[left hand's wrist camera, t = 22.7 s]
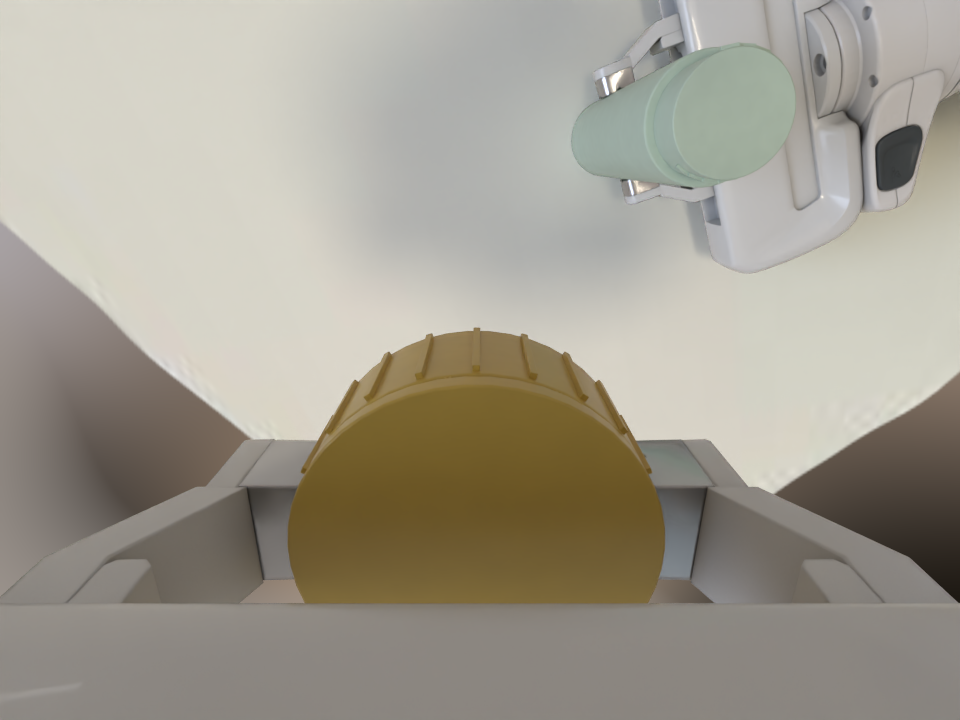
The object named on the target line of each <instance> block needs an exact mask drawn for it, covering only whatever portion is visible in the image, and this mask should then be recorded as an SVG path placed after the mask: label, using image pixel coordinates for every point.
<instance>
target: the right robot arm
mask: <svg viewBox="0 0 960 720" xmlns="http://www.w3.org/2000/svg"><path fill="white" fill-rule="evenodd" d="M658 2H659V6H660V11H661V16H662V19H661V20H659V21H656V22H655V23H654V24H653V25H651V26H650V27H649V28H648V29H646V30H645V31H644V32H643V33H642V35H641V36H640V37H639V38H638V40H637V41H636V42H635V43H634V44H633V46H632V47H631V48H630V49H629V51H628V52H627V53H626V54H625V55H624V57H623V58H622V59H621V60H619V61H617V62H614V63H612V64H609V65H606V66H604V67H602V68H600V69H598V70H596V71H595V72H593V77H594V81H595V85H596V88H597V92H598V96H599V99H602V98H604V97H607V96H609V95H611V94H613V93H614V92H616V91H618V90H620V89H622V88H624V87H626V86H628V85H630V84H632V83H634V82H635V80H634V75H633V71H632V69H633V68H634V67H635V66H636V65H637V63H638V62H639V61H640V60H641V59H642V58H643V56H644V55H645V54H646V53H647V52H648V50H649V49H650V54H651V55H656V54H658V53H661V52H664V51H666V50H669V54H670V59H671V63H672V62H674V61H676V60H678V59H680V58H682V57H684V56H686V55H688V54H690V53H692V52H694V51H697V50H701V49H704V48H711V47H721V46H724V45H729V44H733V43H737V42H740V43H755V44H756V45H758V46H761V47H764V48H766V49H769V50H771V53H773V54H774V55H775V56H776V57H778V58H779V59H780V60H781V61H783V62H782V63H783V64H784V65H785V67H786V68H787V70H788V71H789V73H790V75H791V77H792V80H793V83H794V87H795V92H796V112H795V118H794V122H793V125H792V128H791V131H790V133H789V135H788V137H787V139H786V141H785V143H784V144H783V146H782V147H781V148H780V150H779V151H778V153H777V154H776V155H775V156H774V157H773V158H772V159H771V160H770V161H769V162H768V163H767V164H765V165H764V166H763V167H761V168H760V169H758V170H757V171H755V172H753V173H751V174H749V175H746V176H744V177H741V178H738V179H736V180H730V181H726V182H723V183H721V184H718V185H714V186H710V187H703V188H694V187H686V186H681V188H680V187H674V186H669V185H663V184H659V183H653V182H645V181H637V180H629V179H621V180H620V181H621V185H622V190H623V194H624V198H625V202H626V204H630V205H632V204H636V203H640V202H643V201H645V200H648V199H651V198H654V197H656V196H661V197H667V198H672V199H677V200H683V201H688V202H693V203H695V202H698V201H700V203H701V208H702V212H703V217H704V222H705V227H706V232H707V236H708V241H709V246H710V251H711V255H712V258H713V260H714V261H715V262H717V263H719V264H721V265H723V266H724V267H726V268H728V269H731V270H734V271H737V272H740V273H748V274H750V273H756V272H759V271H762V270H766V269H769V268H771V267H774V266H777V265H779V264H782V263H785V262H787V261H790V260H792V259H794V258H797V257H799V256H801V255H804V254H806V253H808V252H810V251H812V250H814V249H817V248H819V247H821V246H823V245H825V244H827V243H829V242H831V241H832V240H834V239H836V238H837V237H839V236H840V235H842V234H843V233H844V232H845V231H846V230H848V229H849V228H850V227H851V225H852V224H853V223H854V222H855V220H856V219H857V217H858V215H859V213H860V212H881V211H887V210H891V209H894V208H897V207H899V206H901V205H903V204H904V203H906V202H907V201H908V199H909V198H910V196H911V194H912V192H913V189H914V186H915V182H916V178H917V173H918V169H919V165H920V161H921V157H922V153H923V149H924V146H925V142H926V138H927V135H928V132H929V128H930V125H931V122H932V119H933V116H934V114H935V111H936V108H937V106H938V103H940V102H941V101H943V100H945V99H946V98H948V97H950V96H951V95H953V94H955V93H957V92H959V91H960V0H658Z"/></svg>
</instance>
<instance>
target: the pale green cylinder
mask: <svg viewBox="0 0 960 720" xmlns="http://www.w3.org/2000/svg"><path fill="white" fill-rule="evenodd" d="M782 62H783V61H781V60H780V59H779V58H778V57H776V56H775V55H774V54H773V53H771V50H769V49H766V48H764V47H761V46H758V45H756V44H755V43H740V42H737V43H733V44H729V45H724V46H721V47H711V48H704V49H701V50H697V51H694V52H692V53H690V54H688V55H686V56H684V57H682V58H680V59H678V60H676V61H674V62H672V63H670V64H668V65H666V66H664V67H663V68H661V69H659V70H657V71H655V72H653V73H651V74H649V75H647V76H645V77H643V78H641V79H639V80H637V81H635V82H634V83H632V84H630V85H628V86H626V87H624V88H622V89H620V90H618V91H616V92H614V93H613V94H611V95H609V96H607V97H605V98H603V99H601V100H599V101H597V102H595V103H593V104H592V105H590V106H589V107H587V108H586V109H585V110H584V111H583V112H582V113H581V115H580V116H579V117H578V119H577V121H576V123H575V125H574V128H573V132H572V150H573V153H574V156H575V158H576V160H577V162H578V163H579V164H580V165H581V167H582V168H584V169H585V170H586V171H588V172H589V173H591V174H594V175H597V176H604V177H612V178H620V179H629V180H637V181H645V182H653V183H661V184H669V185H677V186H686V187H694V188H703V187H710V186H714V185H718V184H721V183H723V182H726V181H730V180H736V179H738V178H741V177H744V176H746V175H749V174H751V173H753V172H755V171H757V170H758V169H760V168H761V167H763V166H764V165H765V164H767V163H768V162H769V161H770V160H771V159H772V158H773V157H774V156H775V155H776V154H777V153H778V151H779V150H780V148H781V147H782V146H783V144H784V143H785V141H786V139H787V137H788V135H789V133H790V131H791V128H792V125H793V122H794V118H795V112H796V92H795V87H794V83H793V80H792V77H791V75H790V73H789V71H788V70H787V68H786V67H785V65H784V64H783V63H782Z"/></svg>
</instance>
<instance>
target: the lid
mask: <svg viewBox="0 0 960 720" xmlns="http://www.w3.org/2000/svg"><path fill="white" fill-rule="evenodd" d="M300 473H302V474H304V476H303V478H302V479H301V481H300V483H299V485H298V488H297V491H296V493H295V496H294V499H293V502H292V505H291V510H290V516H289V521H288V544H287V546H288V553H289V560H290V566H291V570H292V573H293V576H294V579H295V582H296V586H297V588H298V590H299V592H300V594H301V596H302V598H303V600H304V602H305V603H648V602H649V600H650V598H651V596H652V594H653V592H654V590H655V588H656V585H657V582H658V579H659V576H660V573H661V570H662V564H663V558H664V552H665V524H664V518H663V512H662V506H661V504H660V501H659V498H658V495H657V492H656V489H655V486H654V484H653V483H652V481H651V479H650V477H649V474H651V473H652V470H651V467H650V466H649V464H648V462H647V460H646V458H645V457H644V455H643V453H642V451H641V449H640V447H639V446H638V444H637V442H636V440H635V438H634V437H633V435H632V433H631V431H630V429H629V428H628V426H627V424H626V422H625V420H624V419H623V417H622V415H619V413H618V411H617V409H616V408H615V406H614V404H613V402H612V400H611V398H610V397H609V395H608V393H607V391H606V389H605V387H604V386H603V384H602V383H601V381H600V380H598V381H597V382H595V381H594V380H593V379H592V378H591V377H590V376H589V375H588V374H587V373H586V372H585V371H584V370H583V369H582V368H580V367H579V366H578V365H577V364H575V363H574V362H573V361H572V359H571V357H570V354H568V353H566V352H564V353H563V355H562V354H560V353H559V352H557V351H555V350H553V349H552V348H550V347H548V346H545V345H543V344H540V343H538V342H535V341H533V340H530V339H528V335H526V334H521V337H519V336H515V335H511V334H506V333H498V332H490V331H480V328H474V331H464V332H456V333H447V334H443V335H439V336H435V337H433V334H428V335H426V338H425V339H424V340H421V341H419V342H416V343H414V344H411V345H408V346H406V347H404V348H402V349H401V350H399V351H397V352H395V353H393V354H391V353H390V352H387V353H386V354H384V356H383V358H382V360H381V362H380V363H379V364H377V365H376V366H375V367H373V368H372V369H371V370H370V371H369V372H368V373H367V374H366V375H365V376H364V377H363V378H362V379H361V380H360V381H359V382H358V381H356V380H354V381H353V382H352V384H351V385H350V387H349V389H348V391H347V392H346V394H345V396H344V398H343V399H342V401H341V403H340V405H339V406H338V408H337V410H336V412H335V413H334V415H332V417H331V419H330V420H329V422H328V424H327V425H326V427H325V429H324V431H323V432H322V434H321V436H320V438H319V439H318V441H317V443H316V445H315V446H314V448H313V450H312V451H311V453H310V455H309V457H308V458H307V460H306V462H305V464H304V465H303V467H302V469H301V472H300Z"/></svg>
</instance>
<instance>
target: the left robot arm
mask: <svg viewBox="0 0 960 720" xmlns="http://www.w3.org/2000/svg"><path fill="white" fill-rule="evenodd" d="M317 441H318V440H274V439H260V440H245V441H244V442H243V443H242V444H241V446H240V447H239V448H238V449H237V450H236V451H235V453H234V454H233V455H232V456H231V457H230V459H229V460H228V461H227V462H226V463H225V464H224V466H223V467H222V468H221V469H220V470H219V472H218V473H217V474H216V475H215V476H214V477H213V479H212V480H211V481H210V482H209V483H208V484H207V486H206V487H195V488H193V489H191V490H189V491H187V492H184V493H182V494H180V495H178V496H176V497H174V498H171V499H169V500H167V501H165V502H163V503H161V504H158V505H156V506H154V507H152V508H150V509H147V510H145V511H143V512H141V513H139V514H137V515H134V516H132V517H130V518H128V519H126V520H124V521H121V522H119V523H117V524H115V525H113V526H111V527H108V528H106V529H104V530H102V531H100V532H97V533H95V534H93V535H91V536H89V537H86V538H84V539H82V540H80V541H78V542H76V543H74V544H71V545H69V546H67V547H65V548H63V549H60V550H58V551H56V552H54V553H52V554H49V555H47V556H45V557H43V558H42V559H41V560H40V561H39V562H38V563H37V564H36V565H35V566H34V567H32V568H31V569H30V570H29V571H28V572H27V573H26V574H25V575H24V576H23V577H21V578H20V579H19V580H18V581H17V582H16V583H15V584H14V585H13V586H12V587H10V588H9V589H8V590H7V591H6V592H5V593H4V594H3V595H2V596H1V597H0V720H960V603H958V602H956V601H955V600H954V599H953V598H952V597H951V596H950V595H949V594H948V593H947V592H946V591H945V590H944V589H943V588H941V587H940V586H939V585H938V584H937V583H936V582H935V581H934V580H933V579H932V578H931V577H930V576H929V575H927V574H926V573H925V572H924V571H923V570H922V569H921V568H920V567H919V566H918V565H917V564H916V563H915V562H914V561H912V560H911V559H910V558H909V557H907V556H905V555H902V554H900V553H898V552H896V551H894V550H892V549H890V548H887V547H885V546H883V545H881V544H879V543H877V542H875V541H872V540H870V539H868V538H866V537H864V536H862V535H859V534H857V533H855V532H853V531H851V530H849V529H847V528H844V527H842V526H840V525H838V524H836V523H834V522H832V521H829V520H827V519H825V518H823V517H821V516H819V515H816V514H814V513H812V512H810V511H808V510H806V509H804V508H801V507H799V506H797V505H795V504H793V503H791V502H789V501H786V500H784V499H782V498H780V497H778V496H776V495H774V494H771V493H769V492H767V491H765V490H763V489H761V488H758V487H748V486H747V485H746V483H745V482H744V481H743V480H742V479H741V477H740V476H739V475H738V474H737V473H736V471H735V470H734V469H733V468H732V467H731V465H730V464H729V463H728V462H727V461H726V459H725V458H724V457H723V456H722V455H721V453H720V452H719V451H718V450H717V448H716V447H715V446H714V445H713V444H712V442H711V441H709V440H706V439H694V440H645V441H636V442H637V444H638V446H639V447H640V449H641V451H642V453H643V455H644V457H645V458H646V460H647V462H648V464H649V466H650V467H651V470H652V473H651V474H649V477H650V479H651V481H652V483H653V484H654V486H655V489H656V492H657V495H658V498H659V501H660V504H661V506H662V512H663V518H664V524H665V552H664V558H663V564H662V570H661V573H660V576H659V579H669V580H691V583H692V584H693V585H695V586H696V587H697V588H698V589H699V590H700V591H701V592H703V593H704V594H705V595H706V596H707V597H708V598H710V599H711V600H712V601H713V602H714V603H240V602H241V601H242V600H244V599H245V598H246V597H247V596H248V595H249V594H251V593H252V592H253V591H254V590H255V589H256V588H258V587H259V586H260V585H261V584H262V583H263V580H284V579H294V576H293V573H292V570H291V566H290V560H289V553H288V546H287V544H288V521H289V516H290V510H291V505H292V502H293V499H294V496H295V493H296V491H297V488H298V485H299V483H300V481H301V479H302V478H303V476H304V474H302V473H300V472H301V469H302V467H303V465H304V464H305V462H306V460H307V458H308V457H309V455H310V453H311V451H312V450H313V448H314V446H315V445H316V443H317Z"/></svg>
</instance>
